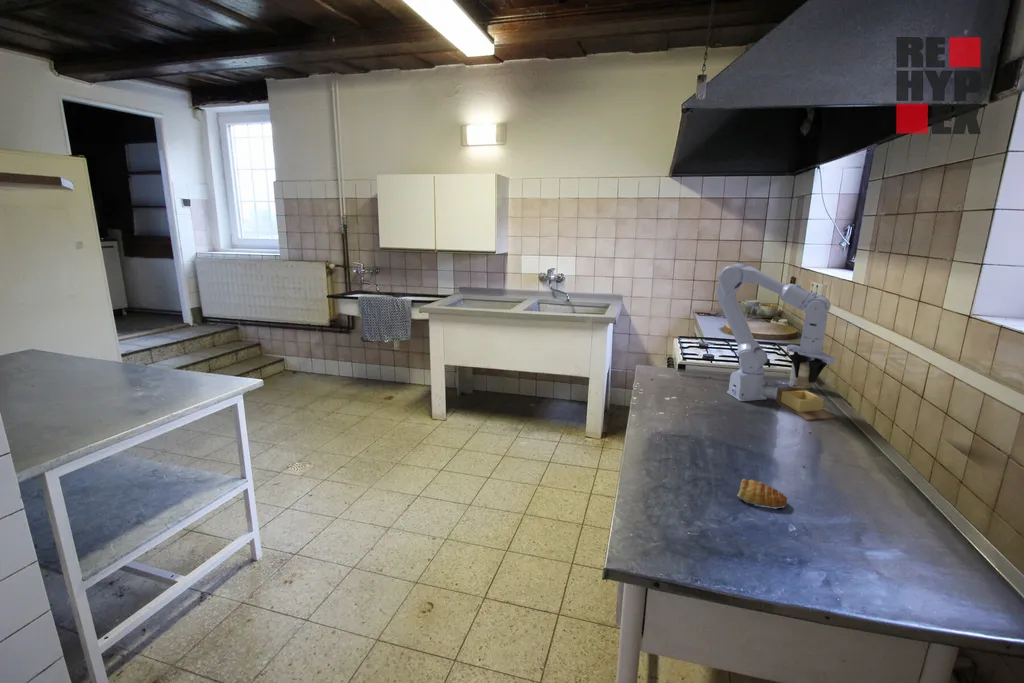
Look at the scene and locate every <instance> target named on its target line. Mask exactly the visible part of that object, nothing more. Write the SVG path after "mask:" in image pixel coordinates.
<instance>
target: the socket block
mask: <svg viewBox="0 0 1024 683" xmlns="http://www.w3.org/2000/svg"><path fill="white" fill-rule="evenodd" d="M781 402H782V403H784V404H785V405H787V406H789V407H791V408H792V409H794V410H796V411H798V412H805V411H818V410H823V408H824V403H825V399H824V398H822V397H820V396H818V395H817V394H815V393H812V392H810V391H808V390H807V389H806V390H796V391H782V396H781Z"/></svg>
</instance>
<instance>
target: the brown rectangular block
mask: <svg viewBox="0 0 1024 683" xmlns="http://www.w3.org/2000/svg"><path fill="white" fill-rule="evenodd" d="M807 389H808V388H802V387H799V386H791V387H790V386H780V387H777V390H776V397H775V403H776V404H779V405H780V406H782V407H783V408H785V409H786V410H789V411H790V412H792V413H794V414H795V413H796V415H797V416H799V417H801V418H802V417H803V418H802V419H804V420H806V421H807V420H810V421H819V420H820V421H822V420H821V419H823V420H833V419H836V416H835V415H833V414H832V413H830V412H827V411H825V410H823V409H822V410H818V411H805V412H798V411H796V410H794V409H792V408H791V407H789V406H787V405H785V404H784V403H782V402H781V396H782V391H796V390H806V391H807Z"/></svg>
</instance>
